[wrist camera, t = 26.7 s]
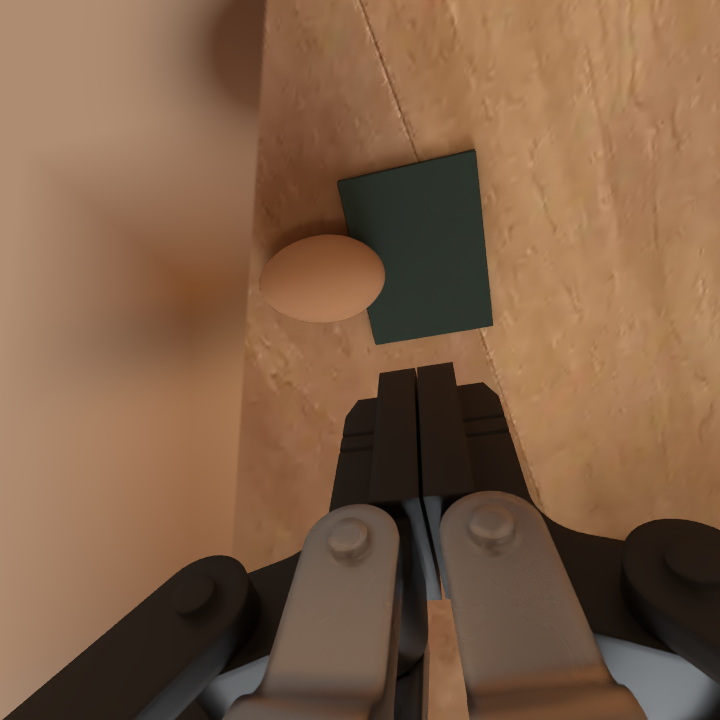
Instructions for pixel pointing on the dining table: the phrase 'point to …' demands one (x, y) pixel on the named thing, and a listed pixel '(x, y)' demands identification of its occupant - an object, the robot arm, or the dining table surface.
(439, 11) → the dining table surface
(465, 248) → the mat
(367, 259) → the egg
